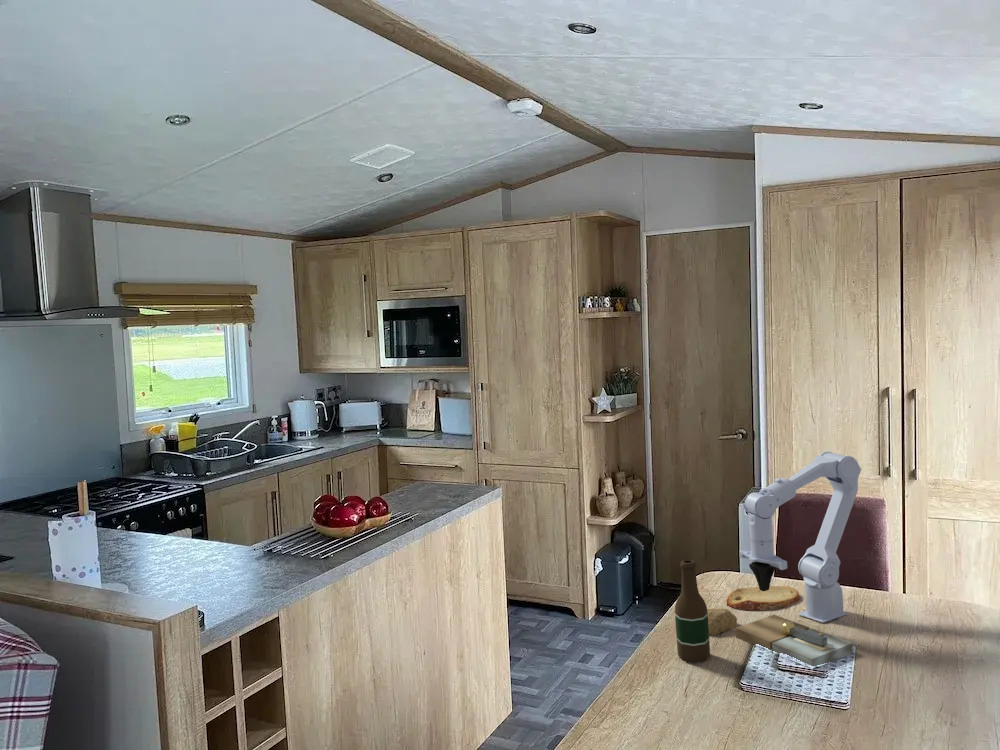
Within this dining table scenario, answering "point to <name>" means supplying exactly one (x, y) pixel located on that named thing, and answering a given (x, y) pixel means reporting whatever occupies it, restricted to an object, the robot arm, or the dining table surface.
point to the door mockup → (793, 641)
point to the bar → (803, 634)
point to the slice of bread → (762, 598)
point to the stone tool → (720, 620)
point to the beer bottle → (691, 618)
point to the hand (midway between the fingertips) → (764, 589)
